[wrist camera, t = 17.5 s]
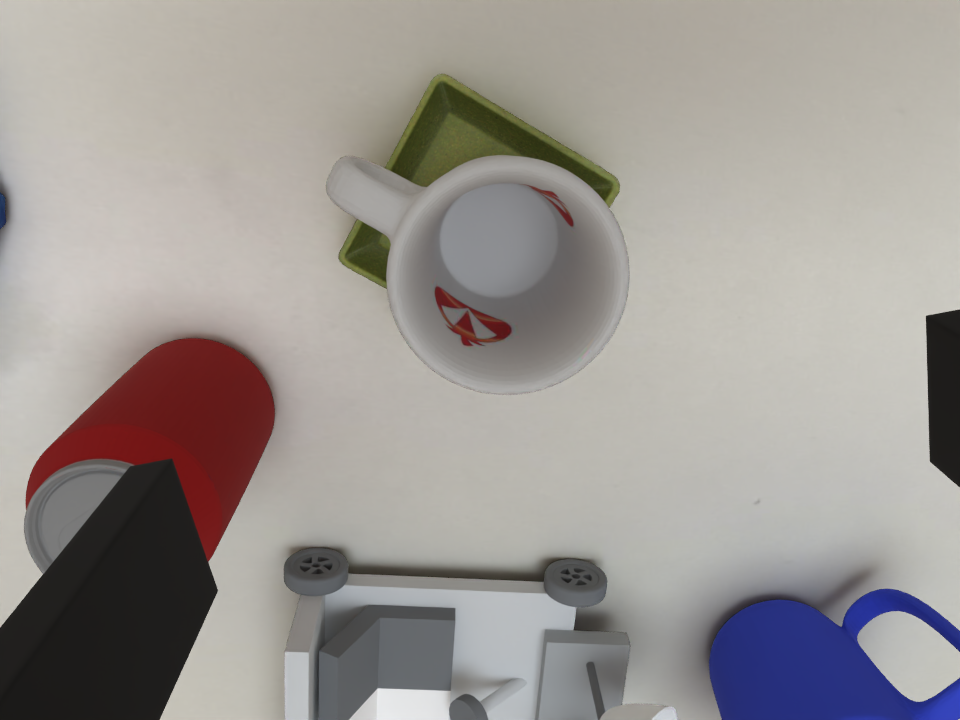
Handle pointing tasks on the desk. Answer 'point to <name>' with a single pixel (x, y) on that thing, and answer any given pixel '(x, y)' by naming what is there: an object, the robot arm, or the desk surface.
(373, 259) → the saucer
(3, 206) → the rock
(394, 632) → the toy car
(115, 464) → the beverage can
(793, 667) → the mug
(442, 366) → the cup
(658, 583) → the desk surface
